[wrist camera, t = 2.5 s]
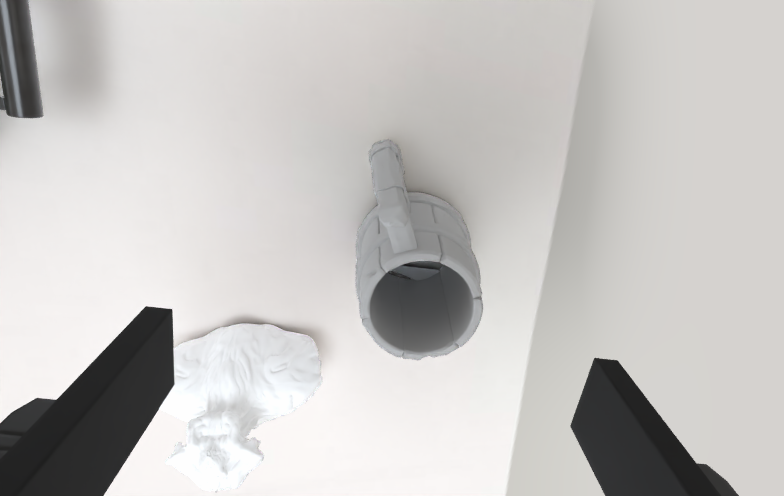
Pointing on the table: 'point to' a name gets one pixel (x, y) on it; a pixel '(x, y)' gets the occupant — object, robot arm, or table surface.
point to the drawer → (18, 62)
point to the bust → (236, 397)
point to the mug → (427, 286)
